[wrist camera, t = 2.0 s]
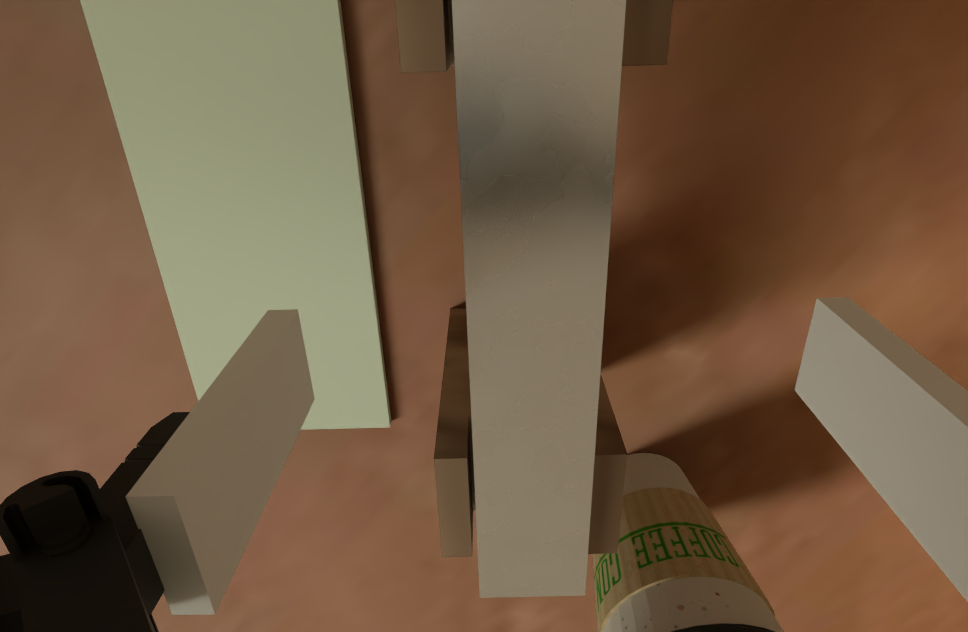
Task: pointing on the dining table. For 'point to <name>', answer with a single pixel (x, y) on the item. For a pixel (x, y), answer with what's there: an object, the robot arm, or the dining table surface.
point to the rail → (535, 273)
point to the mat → (251, 182)
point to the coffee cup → (673, 562)
